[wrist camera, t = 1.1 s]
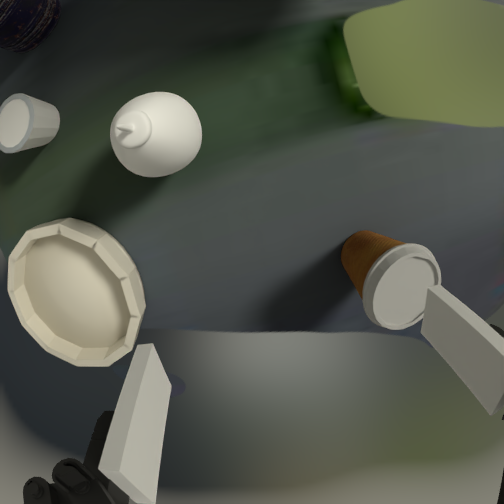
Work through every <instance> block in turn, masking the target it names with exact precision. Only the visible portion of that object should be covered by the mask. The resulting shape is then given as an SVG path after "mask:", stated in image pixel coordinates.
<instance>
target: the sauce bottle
mask: <svg viewBox="0 0 504 504" xmlns="http://www.w3.org/2000/svg"><path fill="white" fill-rule="evenodd" d="M110 139H111V144H112V148H113V150H114V152H115V155H116V156H117V158H118V159H119V161H120V162H121V163H122V164H123V165H124V166H125V167H126V168H127V169H128V170H130V171H131V172H133V173H135V174H137V175H141V176H144V177H161V176H166V175H169V174H173V173H175V172H177V171H179V170H181V169H182V168H184V167H185V166H187V165H188V164H189V163H190V162H191V161H192V160H193V159H194V158H195V156H196V155H197V153H198V151H199V149H200V146H201V141H202V129H201V124H200V120H199V118H198V116H197V114H196V112H195V110H194V109H193V107H192V106H191V105H190V104H189V103H188V102H187V101H186V100H185V99H183V98H181V97H180V96H178V95H176V94H172V93H168V92H153V93H147V94H144V95H141V96H138V97H136V98H134V99H132V100H130V101H129V102H128V103H126V104H125V105H124V106H123V107H122V108H121V109H120V110H119V111H118V112H117V113H116V115H115V117H114V118H113V121H112V124H111V130H110Z"/></svg>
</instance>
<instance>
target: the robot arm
mask: <svg viewBox="0 0 504 504" xmlns="http://www.w3.org/2000/svg"><path fill="white" fill-rule="evenodd" d="M421 333H422V335H423V336H424V337H425V338H426V339H427V340H428V341H429V342H430V343H431V345H432V346H433V347H434V348H435V349H436V350H437V351H438V352H439V354H440V355H441V356H442V357H443V358H444V359H445V361H446V362H447V363H448V364H449V365H450V366H451V368H452V369H453V370H454V371H455V372H456V374H457V375H458V376H459V377H460V378H461V380H463V382H464V383H465V384H466V386H467V387H468V388H469V389H470V390H471V392H472V393H473V394H474V395H475V397H476V398H477V399H478V400H479V401H480V403H481V404H482V405H483V407H484V408H485V409H486V411H487V412H488V413H489V414H490V416H491V415H493V414H494V413H496V412H497V411H499V410H500V409H502V408H503V406H504V331H503V330H502V329H500V328H499V327H497V326H495V325H492V324H490V325H488V324H487V323H486V322H485V321H483V320H482V319H481V318H480V317H479V316H478V315H476V314H475V313H474V312H473V311H472V310H470V309H469V308H468V307H467V306H466V305H464V304H463V303H462V302H461V301H459V300H458V299H457V298H456V297H454V296H453V295H452V294H451V293H449V292H448V291H447V290H446V289H444V288H443V287H442V286H441V285H439V284H438V285H435V286H432V287H428V288H427V296H426V304H425V310H424V317H423V323H422V329H421ZM170 392H171V384H170V382H169V380H168V377H167V375H166V373H165V371H164V368H163V366H162V364H161V361H160V359H159V357H158V355H157V352H156V350H155V347H154V345H153V343H151V344H142V345H137V348H136V351H135V354H134V356H133V359H132V362H131V365H130V367H129V370H128V373H127V376H126V379H125V382H124V385H123V388H122V391H121V394H120V397H119V400H118V403H117V406H116V409H115V411H104V413H103V414H102V415H101V416H100V418H99V419H98V420H97V423H96V426H95V429H94V432H93V434H92V438H91V439H92V440H91V441H90V444H89V447H88V450H87V453H86V456H85V460H84V463H83V464H82V463H81V462H80V461H78V460H76V459H72V458H67V459H64V460H61V461H60V462H59V463H57V464H56V466H55V467H54V469H53V472H52V479H53V481H54V482H55V483H52V484H49V483H48V482H47V481H46V480H45V479H43V478H41V477H33V478H31V479H29V480H28V481H27V482H26V483H25V486H24V489H23V498H24V504H128V502H129V497H130V498H131V499H132V500H133V501H135V502H136V503H143V504H155V503H156V493H157V484H158V475H159V467H160V459H161V452H162V444H163V437H164V430H165V424H166V417H167V411H168V404H169V398H170ZM502 420H504V415H503V417H502ZM497 504H504V470H503V477H502V483H501V488H500V493H499V497H498V502H497Z"/></svg>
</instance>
